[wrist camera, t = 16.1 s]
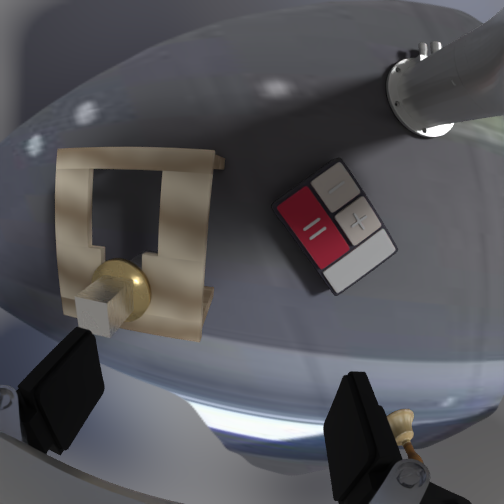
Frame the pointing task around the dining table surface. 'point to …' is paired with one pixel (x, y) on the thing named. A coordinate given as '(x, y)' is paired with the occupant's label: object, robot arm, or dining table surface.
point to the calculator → (335, 226)
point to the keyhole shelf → (170, 232)
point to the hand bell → (403, 431)
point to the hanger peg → (114, 296)
